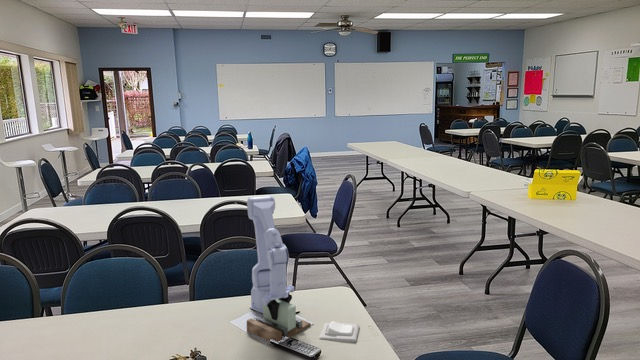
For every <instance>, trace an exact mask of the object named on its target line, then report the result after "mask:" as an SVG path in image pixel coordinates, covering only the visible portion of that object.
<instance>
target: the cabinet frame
mask: <svg viewBox="0 0 640 360" xmlns="http://www.w3.org/2000/svg"><path fill="white" fill-rule="evenodd" d="M311 325H312V324H311V322H309V321H307V320H304V319H301V318H298V317H297V316H296V327H295V328H293V329H291V330H290V331H288V329H287V328H285V327H282V326H280V325H278V324H275V323H273V322H271V321H269V320H266V319H264V318H263V316H257V317H255V319H253V318H249V319H246V332H248V333H249V334H250V333H251V334H252V335H255V336H256V337H259V338H260V339H263V340H264V341H265V340H266V341H268V342H269V341H270V339H273V340H275V341H277V342H278V341H280V340H282V336H284V337H285V336H287V337H291V338H292V337H294V336H296V335H298V334H299V333H301V332H302V331H304V330H306V329H308V328H309V327H311Z"/></svg>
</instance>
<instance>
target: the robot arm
mask: <svg viewBox="0 0 640 360" xmlns="http://www.w3.org/2000/svg"><path fill="white" fill-rule="evenodd" d="M246 201H247V202H246V208H247V209H246V210H247V216H248V219H249V220H252V222H253V225H254V233H255V244H256V252H257V263H256V264H255V265H254V266H253V267H252V268H251V269H252V270H251V282H252V288H251V290H250V303H251V305H250V306H249V309H252V310H255V311H257V312H259V313H261V314H263V305H267V307H268V309H269V311H270V314H271V317H272V319H274V320H277V318H278V308H279V305H280V303H278V302H277V301H276V299H280V300H282V301H285V302H287V303H290V304H291V301H292V299H293V295H292V294H290V293H294V292H295V286H293V285H288V286H287V263H289V259H290V255H289V250H288V248H287V246H286V244H285V243H283V240H282V239H283V238H282V236H281V234H280V231H279V230H278V229H276V226H275V220H274V216H273V214H275V213H274V212H275V209H276V201H275V197H274V196H273V195H265V196H254V197H251V196H250V197H248V198H247V200H246Z"/></svg>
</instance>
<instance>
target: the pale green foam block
mask: <svg viewBox="0 0 640 360" xmlns="http://www.w3.org/2000/svg"><path fill="white" fill-rule="evenodd" d="M276 301H277V302H278V303H280V305H279V308H278V318H277V320H274V319H272V317H271V314H270V311H269V309H268V307H267V305H263V313H262V314H263V316H262V318H264V319H266V320H269V321H271V322H273V323H275V324H278V325H280V326H282V327H285V328H287V329H288V331H290V330H291V329H293V328H295V327H296V317H297V316H296V315H297V314H296V313H297V312H296V308H297V307H296V305H294V304H292V303H291V302H290V303H287V302H285V301H282V300H280V299H276Z"/></svg>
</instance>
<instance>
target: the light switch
mask: <svg viewBox="0 0 640 360" xmlns="http://www.w3.org/2000/svg"><path fill="white" fill-rule="evenodd" d="M359 329H360V325H359V324H358V323H343V322H338V321H333V320H332V321H330V322H325V323H324V324H323V327H322V329H321V332H320V334H319V337H318V340H325V341H335V342H342V343H343V342H344V343H356V342H357V339H358V334H359Z"/></svg>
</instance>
